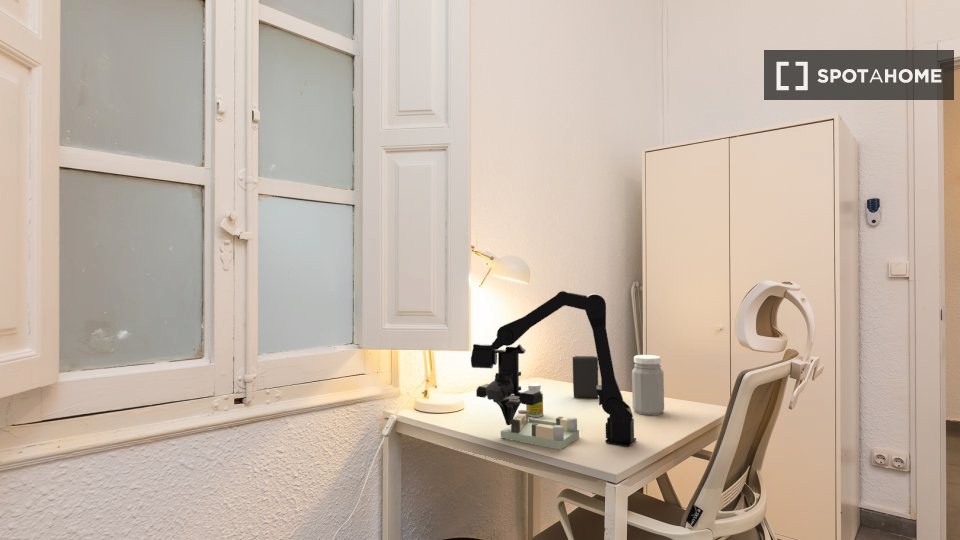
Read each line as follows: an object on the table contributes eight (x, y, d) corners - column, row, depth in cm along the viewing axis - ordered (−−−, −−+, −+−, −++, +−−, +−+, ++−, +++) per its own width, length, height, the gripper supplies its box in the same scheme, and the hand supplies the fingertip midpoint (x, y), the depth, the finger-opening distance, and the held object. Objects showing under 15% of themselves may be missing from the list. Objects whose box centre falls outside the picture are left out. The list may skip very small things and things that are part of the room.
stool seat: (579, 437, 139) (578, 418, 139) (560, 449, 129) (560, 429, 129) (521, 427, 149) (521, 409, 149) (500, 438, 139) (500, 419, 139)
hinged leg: (519, 420, 148) (519, 409, 148) (529, 421, 147) (528, 410, 147) (510, 431, 137) (510, 420, 137) (520, 432, 136) (520, 420, 136)
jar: (662, 408, 167) (661, 354, 167) (666, 416, 158) (664, 359, 158) (632, 407, 170) (630, 354, 170) (633, 415, 160) (632, 358, 160)
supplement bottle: (529, 417, 159) (529, 386, 159) (523, 413, 164) (523, 383, 164) (545, 416, 160) (545, 385, 160) (539, 412, 165) (538, 382, 165)
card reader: (598, 396, 186) (597, 355, 187) (599, 398, 182) (598, 357, 183) (573, 395, 188) (572, 355, 188) (573, 398, 184) (572, 357, 184)
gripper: (464, 369, 140) (464, 426, 140) (522, 377, 129) (522, 438, 129) (487, 364, 149) (487, 417, 149) (543, 370, 138) (543, 427, 138)
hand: (508, 424), depth 141 cm, fingers closed
